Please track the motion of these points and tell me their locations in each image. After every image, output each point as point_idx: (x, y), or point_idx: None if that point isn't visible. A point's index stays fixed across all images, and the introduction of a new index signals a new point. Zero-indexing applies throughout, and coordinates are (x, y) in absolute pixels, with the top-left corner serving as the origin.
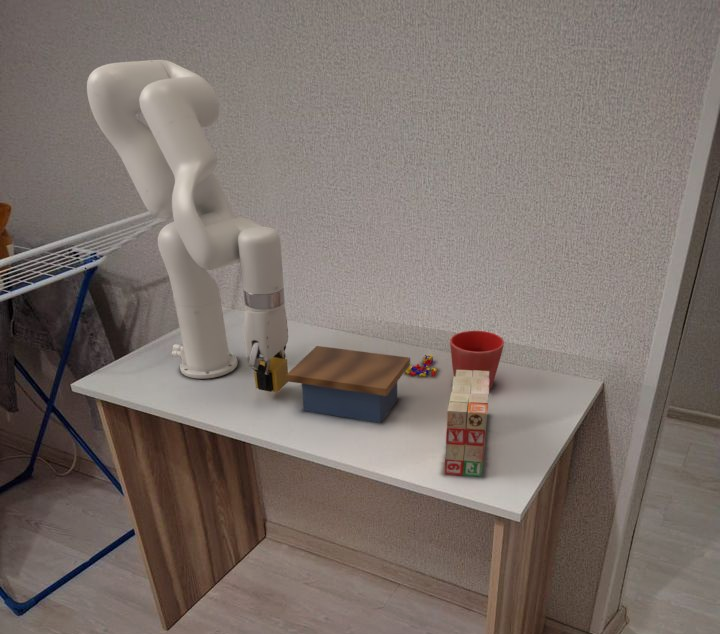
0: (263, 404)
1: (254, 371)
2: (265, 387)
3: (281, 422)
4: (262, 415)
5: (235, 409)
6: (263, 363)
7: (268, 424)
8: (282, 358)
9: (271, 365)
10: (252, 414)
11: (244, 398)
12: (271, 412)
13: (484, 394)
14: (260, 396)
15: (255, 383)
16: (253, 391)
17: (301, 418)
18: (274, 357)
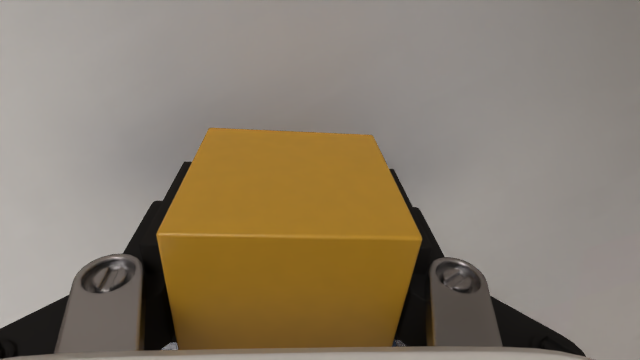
0: (174, 164)
1: (174, 201)
2: None
3: (66, 295)
4: (71, 206)
5: (38, 35)
6: (247, 290)
7: (16, 260)
8: (406, 345)
9: (240, 348)
10: (49, 158)
11: (192, 25)
12: (120, 230)
13: None
14: (250, 111)
15: (201, 144)
16: (297, 41)
17: None
18: (394, 315)
